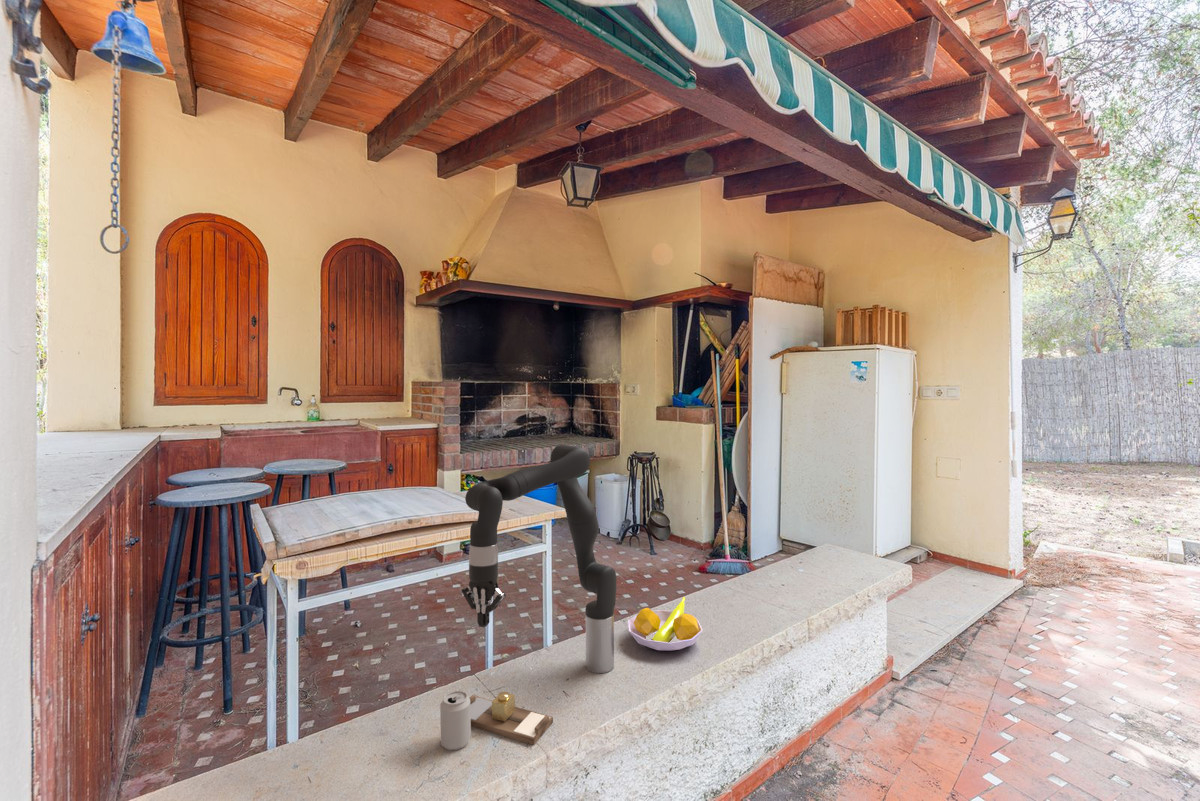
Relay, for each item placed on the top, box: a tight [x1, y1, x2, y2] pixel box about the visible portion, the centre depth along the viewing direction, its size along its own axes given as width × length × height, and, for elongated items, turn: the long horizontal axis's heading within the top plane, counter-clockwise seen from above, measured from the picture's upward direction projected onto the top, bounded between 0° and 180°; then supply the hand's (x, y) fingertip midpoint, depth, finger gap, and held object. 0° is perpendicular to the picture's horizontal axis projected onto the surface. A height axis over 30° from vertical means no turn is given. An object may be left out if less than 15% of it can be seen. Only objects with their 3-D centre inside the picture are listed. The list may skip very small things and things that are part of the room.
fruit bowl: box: [627, 596, 703, 652], centre depth 192 cm, size 28×27×11 cm
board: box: [469, 694, 554, 746], centre depth 145 cm, size 10×25×3 cm, turn 67°
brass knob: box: [492, 691, 516, 722], centre depth 145 cm, size 5×4×6 cm
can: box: [439, 690, 472, 751], centre depth 137 cm, size 8×8×12 cm
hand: (483, 625), depth 141 cm, fingers closed
